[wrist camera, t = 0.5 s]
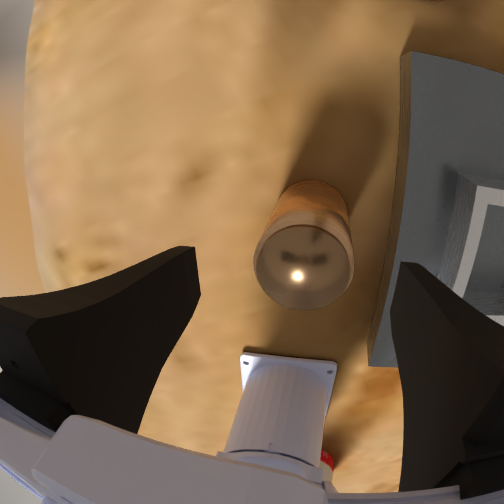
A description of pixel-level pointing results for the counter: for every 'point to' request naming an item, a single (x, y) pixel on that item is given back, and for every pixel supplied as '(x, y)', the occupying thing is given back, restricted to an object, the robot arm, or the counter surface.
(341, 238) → the shiny metal cylinder
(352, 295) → the counter surface
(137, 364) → the robot arm
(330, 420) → the counter surface
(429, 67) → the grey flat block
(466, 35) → the counter surface
